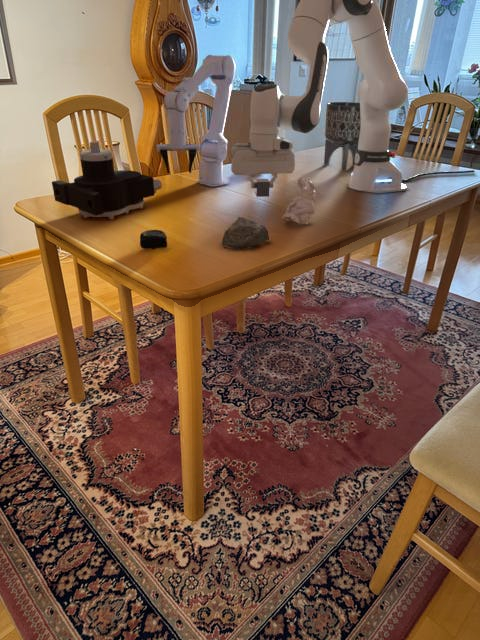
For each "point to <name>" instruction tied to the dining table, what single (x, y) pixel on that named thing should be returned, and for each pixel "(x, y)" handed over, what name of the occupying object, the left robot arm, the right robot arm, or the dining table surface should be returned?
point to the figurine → (301, 204)
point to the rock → (245, 234)
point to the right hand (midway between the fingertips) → (262, 187)
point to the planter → (342, 130)
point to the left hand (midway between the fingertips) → (179, 172)
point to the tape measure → (153, 239)
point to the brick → (262, 187)
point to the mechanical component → (104, 186)
